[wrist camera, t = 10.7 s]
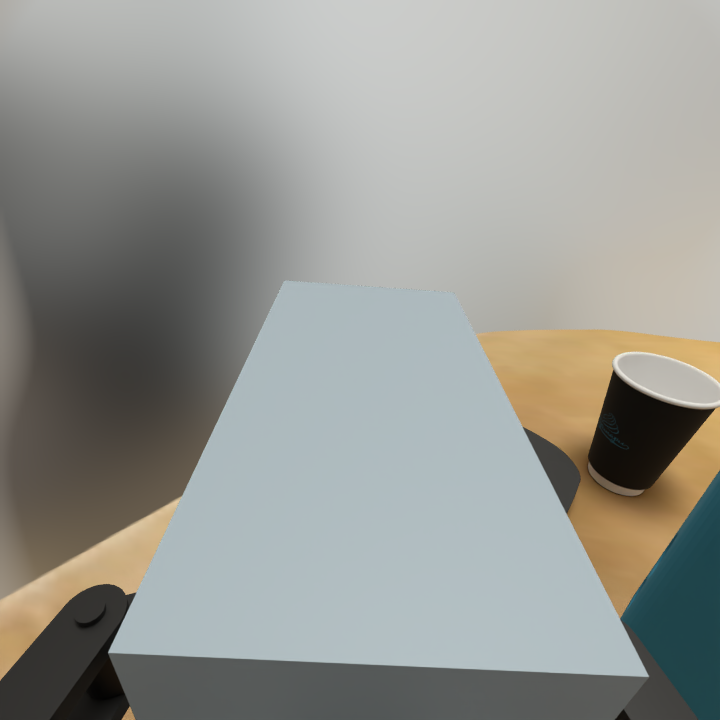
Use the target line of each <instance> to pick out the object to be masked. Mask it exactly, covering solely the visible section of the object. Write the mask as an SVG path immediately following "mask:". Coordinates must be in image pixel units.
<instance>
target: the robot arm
mask: <svg viewBox="0 0 720 720" xmlns="http://www.w3.org/2000/svg"><path fill="white" fill-rule="evenodd" d="M136 593H137V592H136ZM136 593H133V594H129V595H125V593H124V591H123V590H122V589H121V588H119V587H117V586H115V585H110V584H103V585H97V586H93V587H91V588H88V589H86V590H84V591H82V592H80V593H79V594H77V595H76V596H75V597H73V598H72V599H71V600H70V601H69V602H68V603H67V604H66V605H65V606H64V607H63V608H62V610H61V611H60V612H59V613H58V614H57V615H56V617H55V618H54V619H53V620H52V621H51V622H50V624H49V625H48V626H47V627H46V628H45V629H44V631H43V632H42V633H41V634H40V635H39V636H38V637H37V639H36V640H35V641H34V642H33V643H32V644H31V646H30V647H29V648H28V649H27V650H26V651H25V653H24V654H23V655H22V656H21V657H20V658H19V660H18V661H17V662H16V663H15V664H14V665H13V667H12V668H11V669H10V670H9V671H8V672H7V674H6V675H5V676H4V677H3V678H2V679H1V681H0V720H122V718H123V716H124V715H125V713H126V711H127V710H128V708H129V706H130V705H129V702H128V700H127V697H126V695H125V693H124V690H123V688H122V685H121V683H120V681H119V678H118V676H117V673H116V671H115V668H114V666H113V664H112V661H111V659H110V656H109V654H108V652H109V650H110V648H111V645H112V643H113V641H114V639H115V637H116V635H117V633H118V631H119V629H120V626H121V624H122V622H123V620H124V618H125V616H126V614H127V612H128V610H129V607H130V605H131V603H132V601H133V599H134V597H135V595H136ZM620 620H621V619H620ZM621 622H622V624H623V626H624V628H625V630H626V632H627V634H628V636H629V638H630V640H631V642H632V644H633V646H634V648H635V650H636V652H637V654H638V656H639V658H640V660H641V662H642V664H643V666H644V668H645V670H646V672H647V674H648V676H649V678H648V679H647V680H646V682H645V683H644V684H643V685H642V687H641V688H640V689H639V690H638V692H637V693H636V694H635V695H634V696H633V698H632V699H631V700H630V701H629V703H628V704H627V705H626V706H625V708H624V709H623V710H622V711H621V713H620V714H619V715H618V716H617V718H616V719H615V720H698V718H697V717H696V715H695V714H694V713H693V711H692V710H691V709H690V707H689V706H688V705H687V703H686V702H685V701H684V699H683V698H682V696H681V695H680V694H679V692H678V691H677V690H676V688H675V687H674V686H673V684H672V683H671V681H670V680H669V679H668V677H667V676H666V675H665V673H664V672H663V671H662V669H661V668H660V667H659V665H658V664H657V662H656V661H655V660H654V658H653V657H652V656H651V654H650V653H649V652H648V650H647V649H646V648H645V646H644V645H643V643H642V642H641V641H640V639H639V638H638V637H637V635H636V634H635V633H634V632H633V630H632V629H631V628H630V627H629V626H628V625H627V624H626V623H625V622H623V621H622V620H621Z"/></svg>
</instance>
